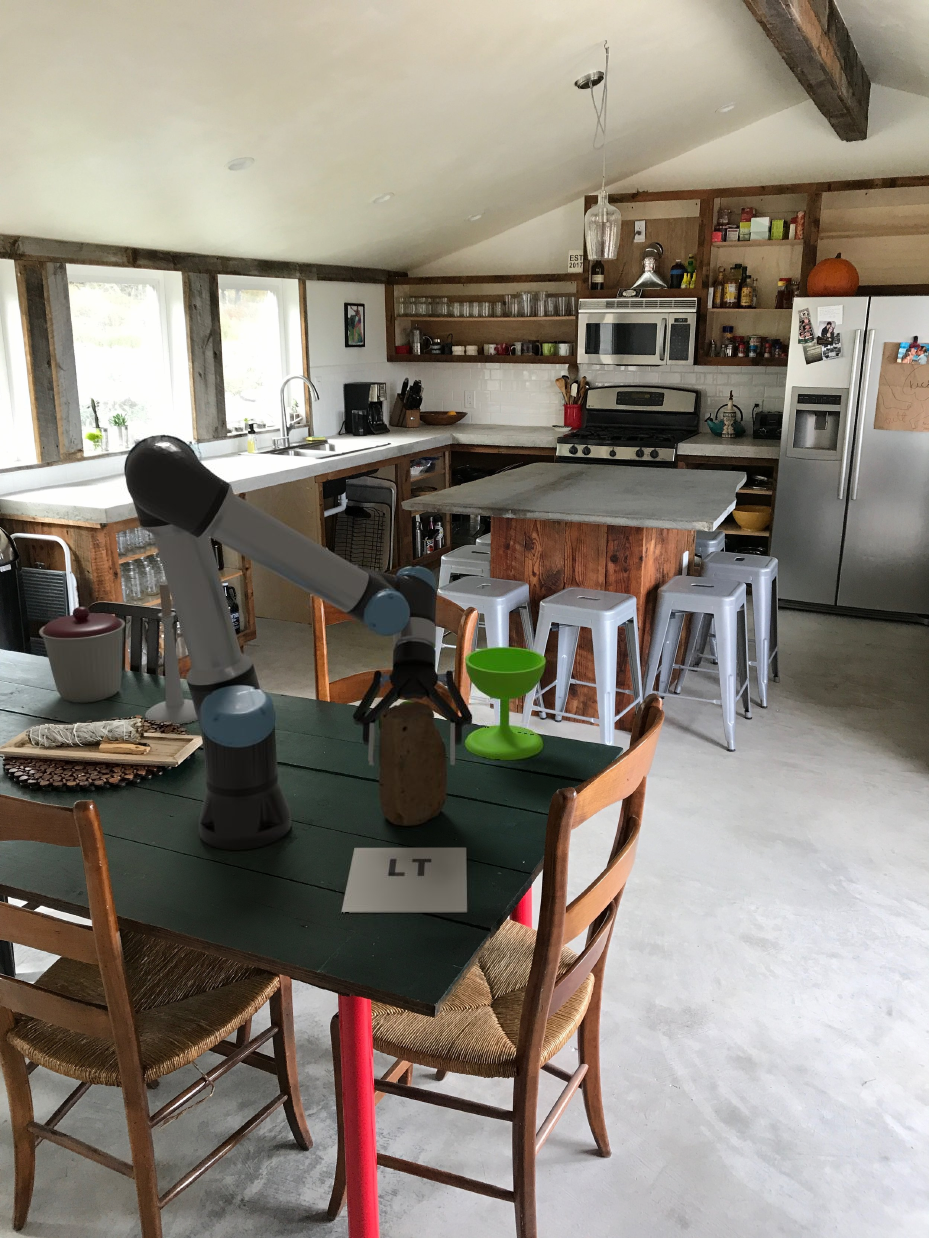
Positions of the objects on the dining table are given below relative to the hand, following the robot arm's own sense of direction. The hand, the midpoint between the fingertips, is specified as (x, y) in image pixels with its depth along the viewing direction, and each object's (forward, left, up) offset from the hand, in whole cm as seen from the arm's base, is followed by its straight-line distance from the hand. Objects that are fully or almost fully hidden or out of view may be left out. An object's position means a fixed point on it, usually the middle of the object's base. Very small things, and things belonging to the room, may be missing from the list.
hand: (411, 762), depth 162 cm
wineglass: (+17, +33, -11) cm, 39 cm away
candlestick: (-54, +49, -11) cm, 74 cm away
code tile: (0, -18, -11) cm, 21 cm away
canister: (-77, +61, -11) cm, 99 cm away
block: (0, +2, -11) cm, 12 cm away
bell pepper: (-4, +31, -11) cm, 34 cm away
